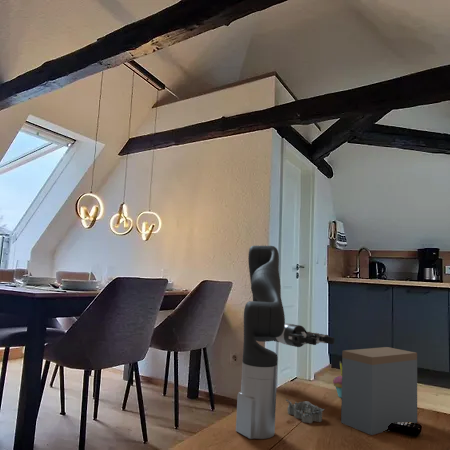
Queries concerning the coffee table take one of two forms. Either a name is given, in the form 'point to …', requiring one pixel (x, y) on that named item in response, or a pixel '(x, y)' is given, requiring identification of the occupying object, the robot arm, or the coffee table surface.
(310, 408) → the egg carton
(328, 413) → the coffee table surface
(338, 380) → the cupcake
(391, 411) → the counter
